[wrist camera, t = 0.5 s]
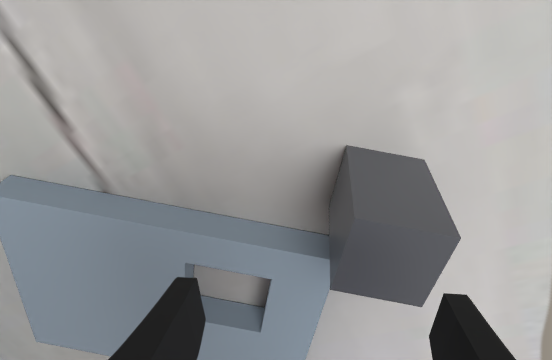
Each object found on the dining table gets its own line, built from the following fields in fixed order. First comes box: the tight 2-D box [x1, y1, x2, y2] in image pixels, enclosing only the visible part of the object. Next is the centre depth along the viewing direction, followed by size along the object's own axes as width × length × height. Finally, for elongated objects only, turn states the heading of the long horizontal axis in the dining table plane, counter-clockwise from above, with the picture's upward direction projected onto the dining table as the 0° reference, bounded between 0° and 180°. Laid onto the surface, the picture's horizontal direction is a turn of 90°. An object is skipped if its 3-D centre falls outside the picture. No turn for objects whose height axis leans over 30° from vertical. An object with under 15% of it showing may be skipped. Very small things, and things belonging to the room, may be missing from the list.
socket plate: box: [0, 175, 330, 360], centre depth 25 cm, size 14×20×2 cm
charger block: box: [329, 145, 461, 307], centre depth 17 cm, size 4×4×6 cm
